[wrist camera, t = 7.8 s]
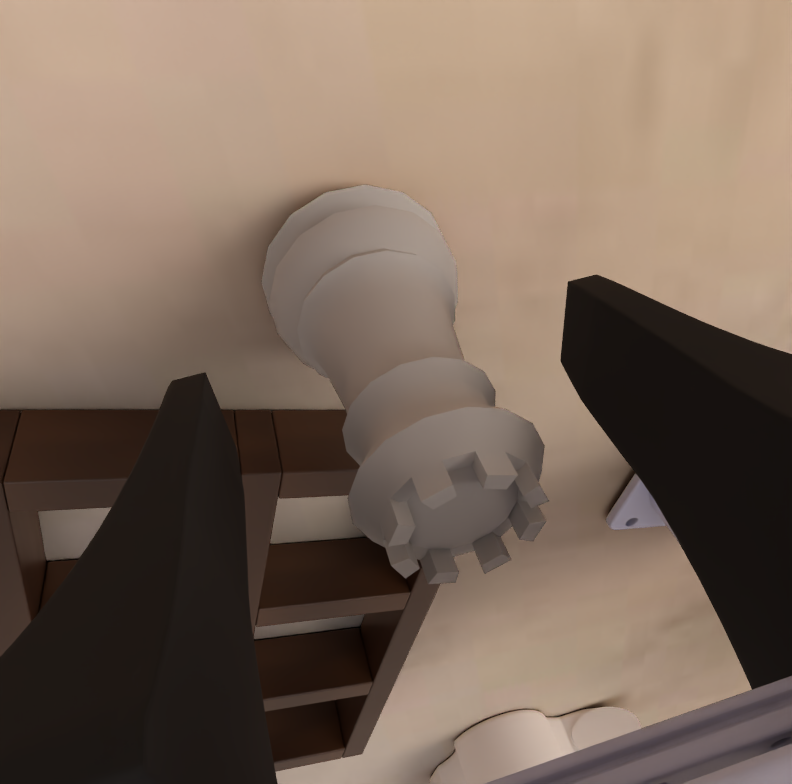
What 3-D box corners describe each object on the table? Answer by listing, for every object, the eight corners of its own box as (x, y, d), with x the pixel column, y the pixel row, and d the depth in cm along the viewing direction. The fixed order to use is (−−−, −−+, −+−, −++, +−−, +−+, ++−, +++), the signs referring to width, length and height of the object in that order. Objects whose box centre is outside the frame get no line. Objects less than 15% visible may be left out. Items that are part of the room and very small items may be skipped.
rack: (466, 409, 19) (496, 465, 18) (351, 702, 31) (362, 754, 29) (-28, 408, 15) (-54, 484, 13) (51, 753, 26) (42, 819, 24)
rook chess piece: (389, 360, 17) (502, 622, 11) (231, 316, 15) (271, 614, 9) (475, 217, 15) (668, 452, 9) (305, 142, 13) (418, 387, 7)
